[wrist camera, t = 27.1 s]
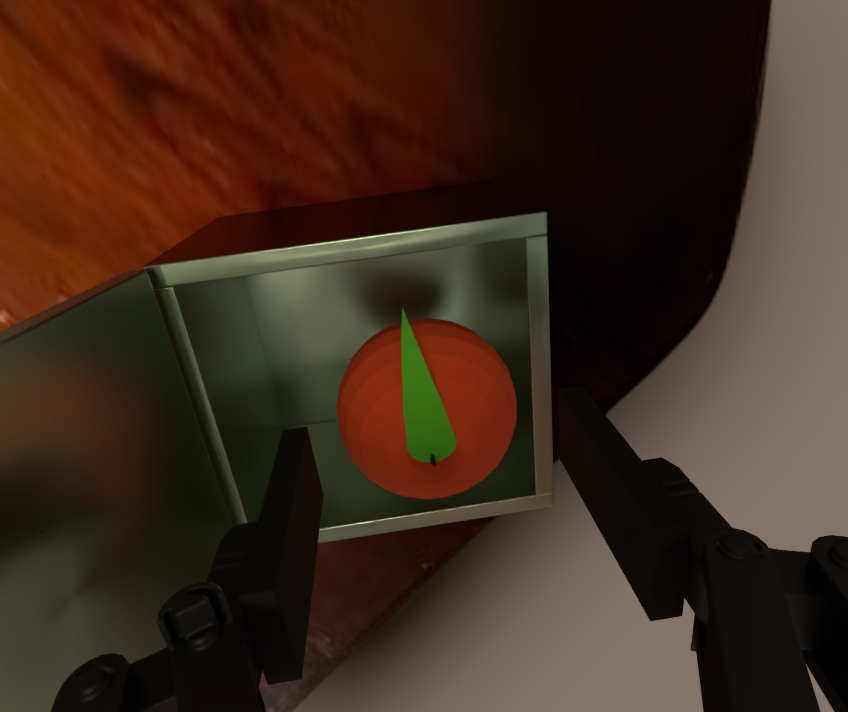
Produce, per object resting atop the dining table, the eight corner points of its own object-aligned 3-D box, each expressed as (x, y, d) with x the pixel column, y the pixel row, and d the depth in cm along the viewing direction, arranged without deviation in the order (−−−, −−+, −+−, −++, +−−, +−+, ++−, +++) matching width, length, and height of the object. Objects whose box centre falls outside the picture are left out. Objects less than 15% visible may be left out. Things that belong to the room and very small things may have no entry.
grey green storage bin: (489, 180, 27) (547, 211, 18) (503, 399, 32) (554, 507, 24) (217, 217, 27) (141, 266, 18) (275, 433, 32) (239, 556, 23)
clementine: (317, 290, 23) (288, 361, 16) (480, 254, 22) (519, 309, 16) (365, 449, 26) (357, 561, 19) (509, 418, 26) (550, 521, 19)
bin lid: (-814, 754, 4) (-882, 751, 5) (-64, 1191, 10) (-104, 1187, 10) (147, 268, 17) (124, 271, 18) (245, 564, 23) (227, 564, 23)
